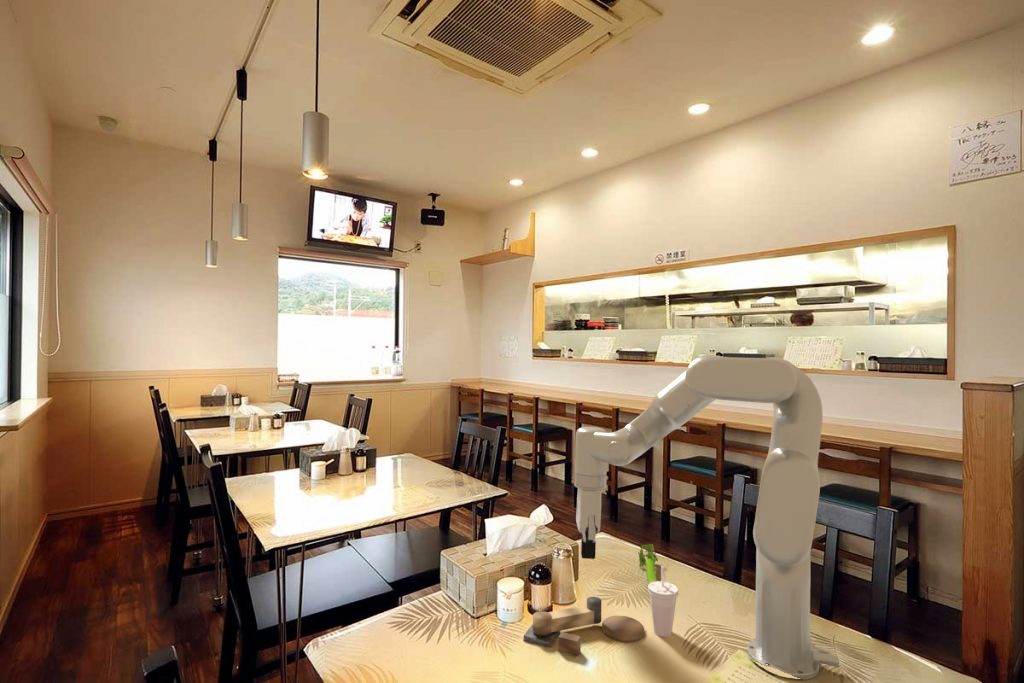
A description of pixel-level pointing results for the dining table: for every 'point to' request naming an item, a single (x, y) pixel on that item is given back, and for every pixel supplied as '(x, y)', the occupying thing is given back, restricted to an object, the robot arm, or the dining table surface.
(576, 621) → the leg
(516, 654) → the dining table surface
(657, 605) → the smoothie
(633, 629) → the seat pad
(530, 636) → the pivot plate
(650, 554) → the leek
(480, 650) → the dining table surface
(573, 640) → the block
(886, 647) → the dining table surface
